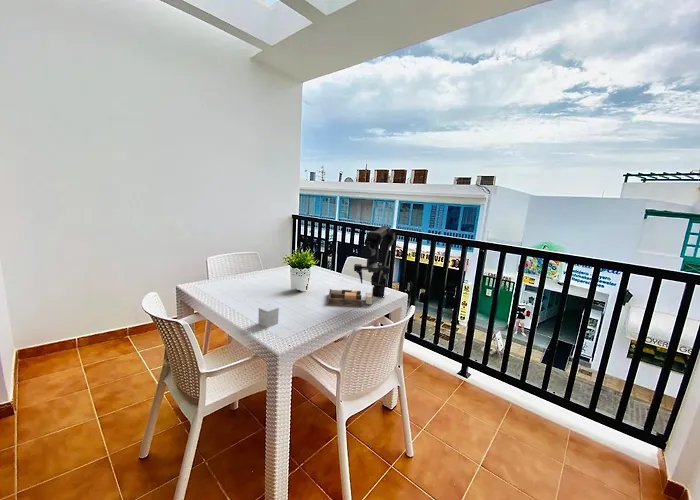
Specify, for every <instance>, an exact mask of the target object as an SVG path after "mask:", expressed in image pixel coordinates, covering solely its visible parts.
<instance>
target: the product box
mask: <svg viewBox="0 0 700 500" xmlns="http://www.w3.org/2000/svg"><path fill="white" fill-rule="evenodd" d="M279 309H280V308H279V307H277V306H275V305H272V304H271V303H270V304H266V305H263V306H260V307H258V318H257V319H258V325H261V326H263V327H265V328H267V329H268V328H271V327H273V326H275V325H277V324H279V314H280V312H279Z"/></svg>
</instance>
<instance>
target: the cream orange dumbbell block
mask: <svg viewBox="0 0 700 500" xmlns="http://www.w3.org/2000/svg"><path fill="white" fill-rule="evenodd" d="M364 298H365V299H364V300H363V299H361V300H362V303H365V304H366V305H372V303H373V295H372V292H370V293H367V292H366V293H365V297H364ZM345 299H355V300H356V293H352V292H345Z"/></svg>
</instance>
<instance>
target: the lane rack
mask: <svg viewBox="0 0 700 500" xmlns="http://www.w3.org/2000/svg"><path fill="white" fill-rule="evenodd" d="M351 290H352V289H342V294H334V293H331V288H330V289H329V293H328V297H327V305H330V306H350V307H363V302H362V300H363V299H362V293H361V292H362V291H361V290H357V295H356V300H355V299H345V292H351Z"/></svg>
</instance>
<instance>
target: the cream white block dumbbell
mask: <svg viewBox="0 0 700 500" xmlns="http://www.w3.org/2000/svg"><path fill="white" fill-rule="evenodd" d="M330 289H331V293H334V294H342V290H343V287H339V286H338V287H337V286H332V287H330ZM350 290H351V292H352V293H356V295H357V291H358V288H355V287H351V289H350Z"/></svg>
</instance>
